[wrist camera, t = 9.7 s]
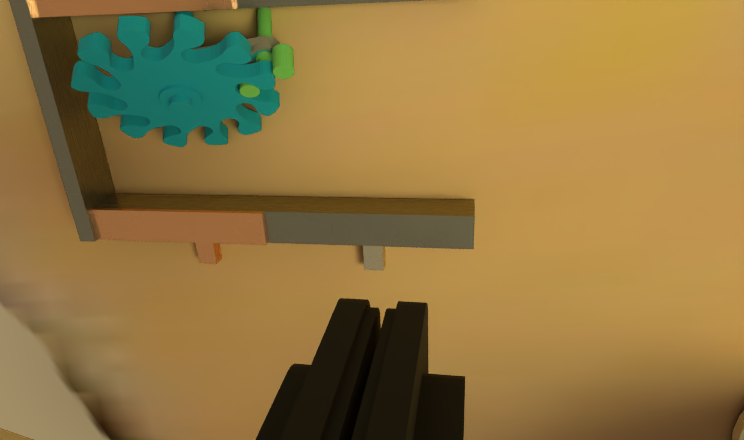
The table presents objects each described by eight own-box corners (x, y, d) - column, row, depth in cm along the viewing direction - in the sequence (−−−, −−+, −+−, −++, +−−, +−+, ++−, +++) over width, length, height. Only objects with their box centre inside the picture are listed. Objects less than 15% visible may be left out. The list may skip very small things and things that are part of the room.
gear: (139, 167, 33) (16, 61, 24) (144, 85, 35) (34, -41, 26) (320, 137, 32) (265, 15, 23) (313, 55, 34) (261, -87, 25)
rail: (472, 267, 34) (472, 293, 31) (117, 254, 38) (90, 276, 35) (483, -109, 26) (485, -118, 23) (29, -75, 30) (-15, -79, 27)
